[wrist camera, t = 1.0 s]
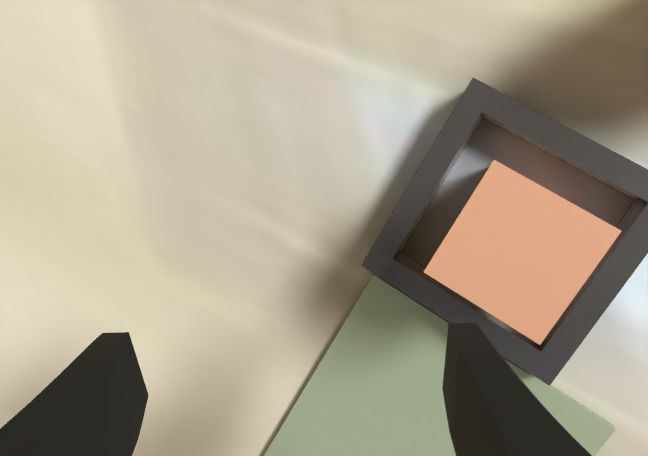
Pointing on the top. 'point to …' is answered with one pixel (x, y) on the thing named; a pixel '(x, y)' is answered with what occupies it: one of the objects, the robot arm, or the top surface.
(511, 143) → the top surface
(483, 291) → the peg
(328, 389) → the rubber mat
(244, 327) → the top surface
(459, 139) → the metal collar
